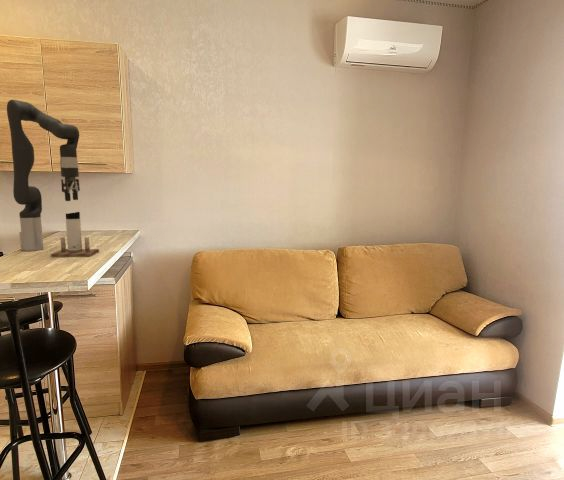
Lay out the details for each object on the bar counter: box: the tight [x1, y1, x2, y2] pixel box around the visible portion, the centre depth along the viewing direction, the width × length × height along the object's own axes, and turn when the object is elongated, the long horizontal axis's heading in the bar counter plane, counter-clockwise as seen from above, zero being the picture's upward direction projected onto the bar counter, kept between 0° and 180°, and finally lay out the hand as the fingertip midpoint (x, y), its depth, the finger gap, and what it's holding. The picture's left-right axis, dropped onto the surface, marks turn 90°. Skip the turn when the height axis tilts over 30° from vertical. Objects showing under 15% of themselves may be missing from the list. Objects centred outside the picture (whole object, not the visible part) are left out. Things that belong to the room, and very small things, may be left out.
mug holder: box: [50, 236, 100, 258], centre depth 188 cm, size 18×12×8 cm, turn 97°
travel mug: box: [65, 211, 83, 253], centre depth 186 cm, size 6×7×20 cm
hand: (71, 200), depth 184 cm, fingers open, 8 cm apart
